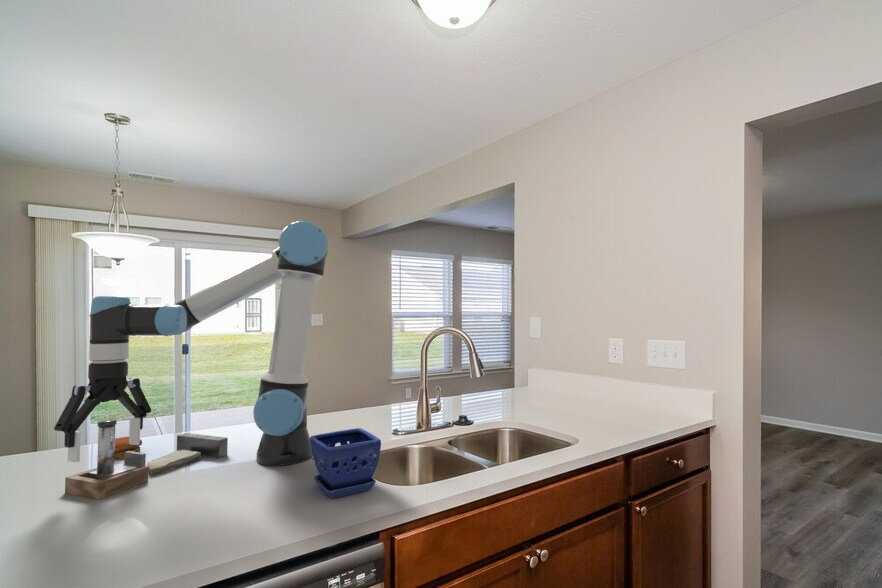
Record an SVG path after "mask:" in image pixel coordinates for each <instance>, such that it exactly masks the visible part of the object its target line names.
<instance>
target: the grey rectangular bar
mask: <svg viewBox="0 0 882 588" xmlns="http://www.w3.org/2000/svg"><path fill="white" fill-rule="evenodd" d="M228 444H229V443H228V437H225V436H224V437H223V436H215V435H208V434H207V435H206V434H199V433H190V432H189V433H188V432H185V433H181V434H178V435H176V451H180V450H189V451H196V452H200V453H201V454H200V457H204V458H213V459H222V458H224V457H227V456H228Z"/></svg>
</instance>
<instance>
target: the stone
mask: <svg viewBox="0 0 882 588" xmlns="http://www.w3.org/2000/svg"><path fill="white" fill-rule="evenodd" d="M200 454H201V453H200V452H196V451H189V450H180V451H177V450H175V451H173V452H170V453H168V454H166V455H161V456H160V457H157V458H153V459H151V460H149V461H147V462H146V465H147V466H148V467H149V470H148V471H149V472H150V474H151V475H156V474H158V473H161V472H162V473H163V472H165V471H168V470H171V468H172V469H175V468H177V467H180V466H183V465H186V464H188V463H190V462H193V461H198V460H200V459H201V458H202V456H200Z"/></svg>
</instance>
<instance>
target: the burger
mask: <svg viewBox="0 0 882 588" xmlns="http://www.w3.org/2000/svg"><path fill="white" fill-rule="evenodd" d="M142 445H143V440H142V439H141V438H140V444H139V445H131V444H129V436H122V437H117V438H116V437H115V455H114V460H116V459H124V458H125V452H127V451H133V452H140V453H141V446H142Z"/></svg>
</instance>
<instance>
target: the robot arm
mask: <svg viewBox="0 0 882 588" xmlns="http://www.w3.org/2000/svg"><path fill="white" fill-rule="evenodd" d="M328 248H329V240H328V237H327V235H326V233H325V232H324V230H323V229H322V228H321V227H320V226H319V225H317V224H315V223H314V222H310V221H307V220H297V221H294V222H291V223H290V224H288V225H287V226H285V227H284V228H283V230H282V231H281V233H280V235H279V238H278V247H277V248H275V249H273V250H272V253H271V255H269V256H267V257H265V258H263V259H261V260H260V261H257V262H255V263H253V264H251V265H249V266H247V267H246V268H243V269H241V270H239V271H238V272H235V273H234V274H232V275H230V276H227V277H225V278H224V279H221V280H219V281H217V282H215V283H214V284H211V285H210V286H207V287H205V288H203V289H201V290H199V291H197V292H196V293H193V294H192V295H189V296H187V297H186V298H184V299H182V300H179V301H177V302H175V303H174V304H167V303H166V304H133V303H132V302H131V299H130V297H128V296H120V295H118V296H117V295H113V296H112V295H99V296H98V295H97V296H95V297H93V298H92V300H91V306H90V313H89V317H90V318H89V319H90V320H89V321H90V323H89V353H88V359H89V361H90V363H89V364H88V373H87V377H88V380H89V381H88V384H87V385H74V386H73V387H72V389H71V390H72V391H71V396H70V398H69V399H68V401H67V403H66V405H65V407H64V409H63V411H62V412H61V414H60V416H59V418H58V420H57V422H56V423H55V425H54V428H53V430H54V431H57V432H62V433H64V447H65V448H67V462H70V463H79V462H80V460H81V433H82V432H81V430H80V431H79V428H80V426H81V425H82V424H83V423H84V422H85V421H86V419H87V418H88V417H89V416H90V414H91V413H92V412H93V410H94V409H96V407H97V406H99V405H100V404H101V403H107V402H109V401H118V402H119V403H121V405H122V406H124V407H125V409H126V410H127V411H128V412H129V413H130V414H131V415H132V417H129V428H128V429H129V432H128V433H129V435H128V437H129V444H131V445H139V444H140V439H141V430H143V427H144V418H147V414H150V413H151V412H152V408H151V405H150V403H149V402H148V400H147V398H146V396H145V393H144V392H143V390H142V387H141V379H140V378H138V377H137V378H136V377H130V378H128V379H127V376H128V375H129V362H128V361H127V360H128V359H129V354H130V353H129V351H130V350H129V347H130V346H129V345H130V343H129V342H130V336H133V337H134V336H135V337H136V336H146V337H147V336H150V337H151V336H154V337H156V336H157V337H158V336H161V337H162V336H164V337H172V336H179V335H183V333H185V332H188V331H189V330H191V329H192V328H193V327H195V326H196V325H198V324H200V323H202V322H203V321H205V320H207V319H209V318H211V317H213V316H215V315H217V314H219V313H221V312H222V311H224V310H226V309H229V308H231V307H232V306H235V305H236V304H239V303H241V302H243V301H244V300H247V299H249V298H250V297H252V296H254V295H255V294H257V293H258V294H259V293H260V292H261V291H263V290H266V289H267V288H270V287H272V286H273V285H275V284H278V283H279V282H281V283H280V291H279V298H278V305H277V310H276V311H277V312H276V316H275V317H276V319H275V325H274V332H273V339H272V346H271V353H270V358H269V365H268V366H269V367H268V371H267V372H266V373H264V374H263V375H262V376H261V378H260V381H259V389H258V394H257V395H258V396H257V400H256V401H255V404H254V406H253V411H252V413H253V420H254V423H255V425H256V427H257V428H258V429H259V430H260V431H262V432H263V433H262V435H261V439H260V441H259V445H258V448H257V450H256V460H255V461H256V463H258V464H261V465H264V466H273V467H275V466H290V465H295V464H298V463H303V462H304V461H305V462H306V461H307V460H310V459H312V458H313V456H312V451H311V445H310V437H311V436H310V433H309V430H308V388H309V379H308V377H307V376H306V375H305V374H304V373H305V365H306V358H307V353H308V345H309V344H308V343H309V335H310V330H311V323H312V316H313V315H312V314H313V309H314V304H315V303H314V301H315V294H316V287H317V283H318V282H319V281H320V280H322V279H323V278H324V273H325V267H326V266H325V265H326V259H327V257H328ZM126 388H128V390H129V392H130V394H131V397H133V399H132V398H131V397H130V394H128V393H127V391H126ZM87 394H88V396H87V397H86V398H85V396H86V395H87ZM84 399H85V400H84ZM83 401H84V403H83ZM82 403H83V404H82ZM81 404H82V405H81Z"/></svg>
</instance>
